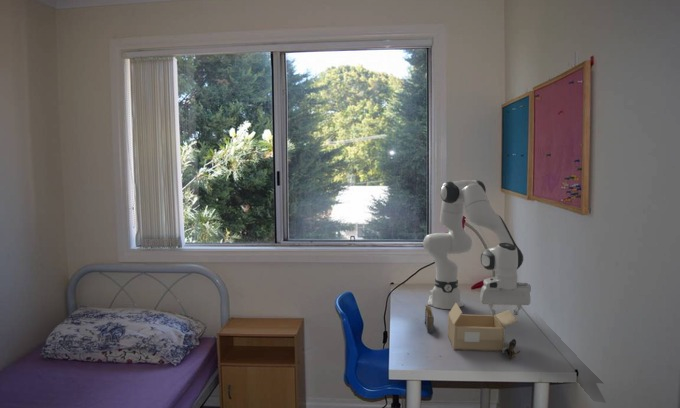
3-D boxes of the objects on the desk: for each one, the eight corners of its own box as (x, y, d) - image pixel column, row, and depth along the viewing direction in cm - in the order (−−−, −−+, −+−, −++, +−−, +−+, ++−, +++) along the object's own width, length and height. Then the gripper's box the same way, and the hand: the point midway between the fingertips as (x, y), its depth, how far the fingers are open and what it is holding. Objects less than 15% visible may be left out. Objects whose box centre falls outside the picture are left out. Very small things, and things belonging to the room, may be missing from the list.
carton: (447, 335, 212) (448, 313, 211) (493, 337, 211) (494, 315, 210) (454, 350, 196) (455, 327, 195) (503, 352, 195) (504, 328, 194)
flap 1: (448, 313, 210) (455, 302, 209) (449, 314, 210) (456, 303, 209) (453, 324, 197) (461, 312, 196) (454, 325, 197) (462, 313, 196)
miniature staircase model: (424, 324, 227) (424, 304, 226) (430, 324, 227) (431, 304, 226) (426, 333, 216) (427, 312, 215) (433, 333, 216) (433, 312, 215)
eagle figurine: (525, 359, 186) (520, 345, 195) (516, 344, 185) (511, 332, 194) (507, 367, 188) (503, 353, 197) (498, 353, 187) (494, 340, 196)
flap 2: (495, 314, 208) (508, 309, 208) (495, 315, 208) (508, 311, 208) (503, 325, 195) (517, 320, 195) (504, 326, 196) (518, 321, 195)
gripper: (528, 280, 203) (527, 312, 204) (479, 279, 204) (478, 311, 205) (533, 284, 196) (532, 317, 198) (483, 283, 197) (481, 316, 199)
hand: (504, 314), depth 201 cm, fingers open, 8 cm apart
